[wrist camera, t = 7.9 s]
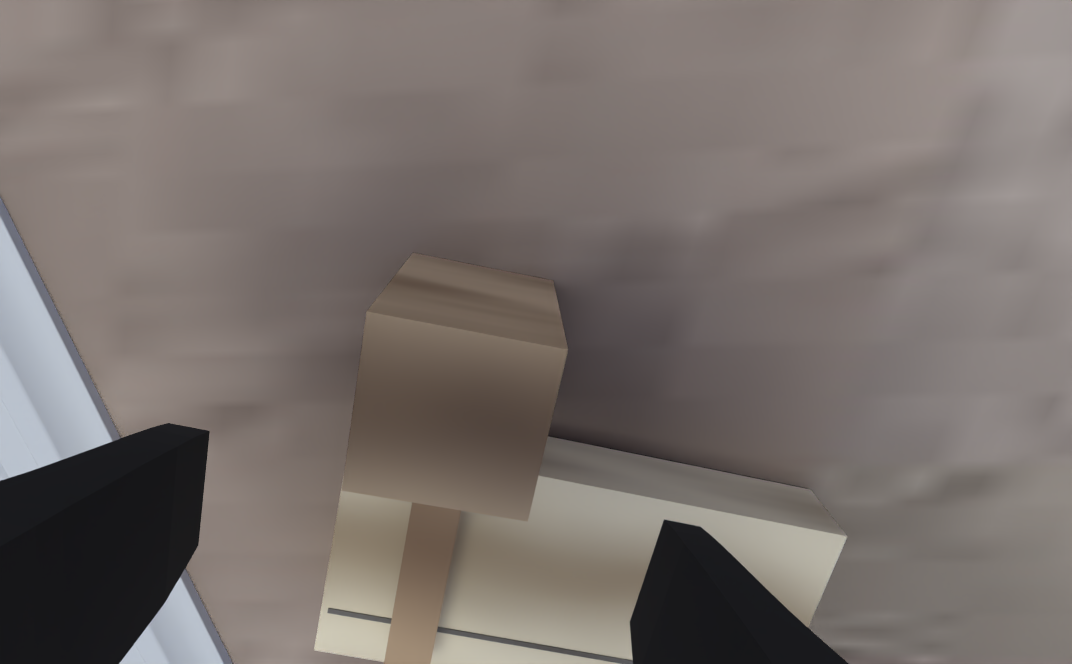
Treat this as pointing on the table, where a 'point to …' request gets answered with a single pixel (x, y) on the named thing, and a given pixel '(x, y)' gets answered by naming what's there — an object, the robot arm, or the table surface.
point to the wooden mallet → (451, 416)
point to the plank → (570, 558)
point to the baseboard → (72, 433)
